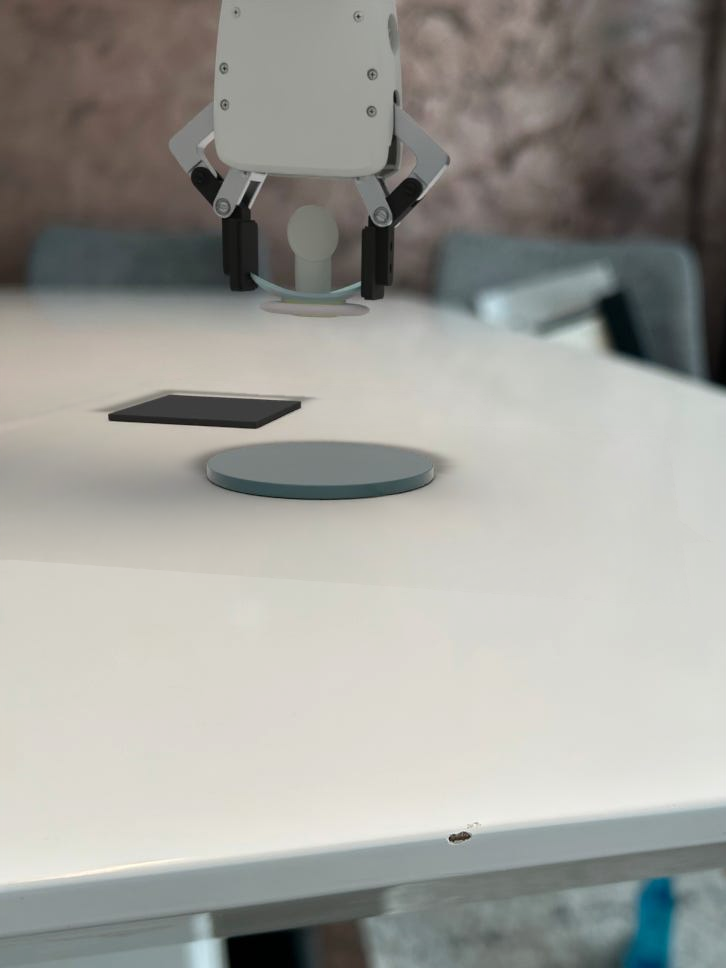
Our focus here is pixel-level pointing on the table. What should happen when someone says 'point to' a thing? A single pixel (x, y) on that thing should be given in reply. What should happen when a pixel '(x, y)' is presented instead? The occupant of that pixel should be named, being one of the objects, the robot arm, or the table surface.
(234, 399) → the mat
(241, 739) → the table surface
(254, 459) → the plate
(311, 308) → the pacifier
